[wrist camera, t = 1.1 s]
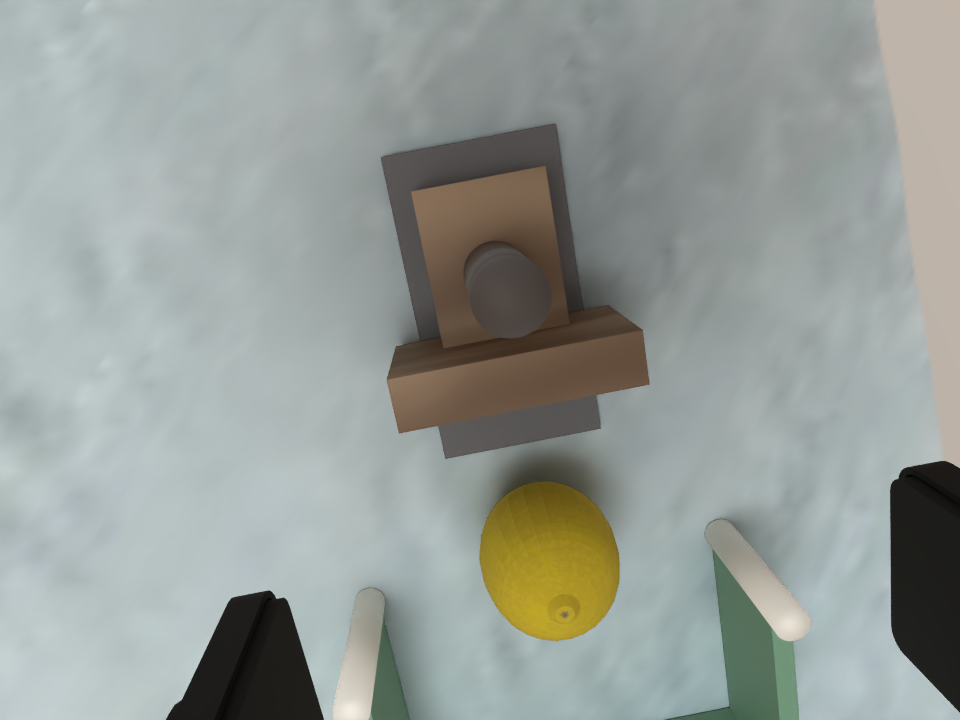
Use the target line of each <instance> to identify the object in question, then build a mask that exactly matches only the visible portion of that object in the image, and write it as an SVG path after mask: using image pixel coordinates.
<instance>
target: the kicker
mask: <svg viewBox="0 0 960 720" xmlns="http://www.w3.org/2000/svg"><path fill="white" fill-rule="evenodd" d="M411 194H412V199H413V204H414V208H415V213H416V218H417V223H418V228H419V233H420V238H421V242H422V247H423V252H424V257H425V262H426V267H427V271H428V276H429V281H430V286H431V291H432V296H433V301H434V305H435V310H436V315H437V320H438V325H439V330H440V334H441V338H437V339H432V340H427V341H422V342H417V343H411V344H406V345H401V346H396V348H395V352H394V355H393V359H392V363H391V366H390V370H389V373H388V377H387V383H388V388H389V392H390V396H391V401H392V405H393V409H394V414H395V418H396V422H397V427H398V431H399V433H403V432H409V431H414V430H419V429H424V428H429V427H434V426H439V425H444V424H450V423H455V422H460V421H465V420H470V419H475V418H480V417H485V416H490V415H496V414H501V413H506V412H511V411H516V410H521V409H526V408H531V407H537V406H542V405H547V404H552V403H557V402H562V401H567V400H572V399H578V398H583V397H588V396H593V395H598V394H603V393H608V392H613V391H619V390H624V389H629V388H634V387H639V386H644V385H649V377H648V369H647V361H646V353H645V345H644V337H643V330H642V329H640V328H639V327H638V326H636V325H635V324H634V323H632V322H631V321H629V320H628V319H627V318H625V317H624V316H622V315H621V314H620V313H618V312H617V311H616V310H614V309H613V308H611V307H610V306H609V305H607V306H602V307H597V308H592V309H586V310H581V311H576V312H571V313H568V308H567V302H566V295H565V289H564V282H563V276H562V269H561V263H560V257H559V250H558V244H557V237H556V231H555V224H554V218H553V211H552V205H551V199H550V192H549V186H548V179H547V173H546V166H542V167H536V168H531V169H526V170H521V171H516V172H510V173H505V174H500V175H495V176H490V177H484V178H479V179H474V180H469V181H464V182H458V183H453V184H448V185H443V186H438V187H433V188H427V189H422V190H417V191H412V192H411Z"/></svg>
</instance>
